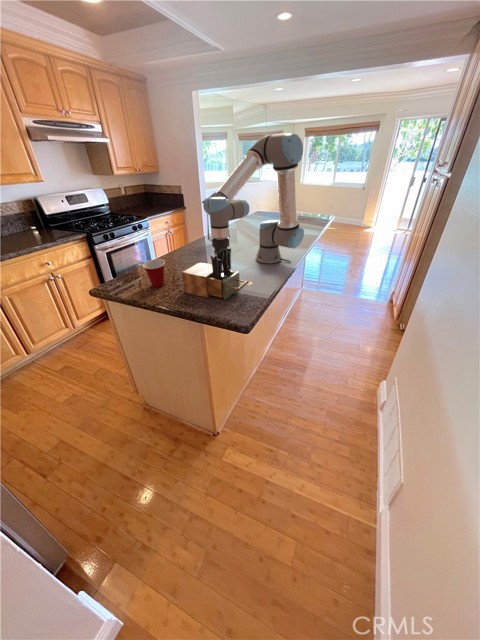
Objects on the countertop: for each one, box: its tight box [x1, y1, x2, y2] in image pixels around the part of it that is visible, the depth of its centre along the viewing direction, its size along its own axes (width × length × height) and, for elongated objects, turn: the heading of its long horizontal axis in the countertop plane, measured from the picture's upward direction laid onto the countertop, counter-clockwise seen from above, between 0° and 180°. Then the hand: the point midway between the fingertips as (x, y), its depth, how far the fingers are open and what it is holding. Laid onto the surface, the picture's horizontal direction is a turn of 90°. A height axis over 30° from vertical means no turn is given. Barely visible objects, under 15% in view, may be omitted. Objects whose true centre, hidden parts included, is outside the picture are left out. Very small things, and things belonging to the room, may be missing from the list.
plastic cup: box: [142, 258, 166, 288], centre depth 134 cm, size 11×11×12 cm
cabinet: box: [181, 262, 213, 299], centre depth 129 cm, size 13×14×10 cm
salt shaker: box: [221, 273, 228, 281], centre depth 124 cm, size 4×4×7 cm
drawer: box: [206, 268, 250, 300], centre depth 124 cm, size 18×13×9 cm
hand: (223, 287), depth 126 cm, fingers closed on salt shaker, 4 cm apart
